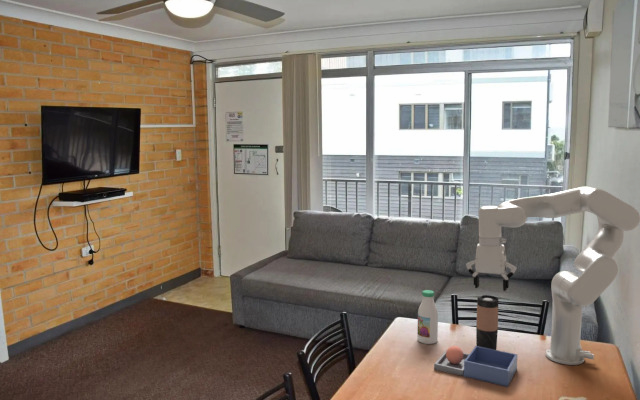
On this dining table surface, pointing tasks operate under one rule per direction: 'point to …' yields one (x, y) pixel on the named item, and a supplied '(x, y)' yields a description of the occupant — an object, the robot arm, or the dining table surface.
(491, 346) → the travel mug
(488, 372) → the blue storage bin
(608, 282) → the robot arm
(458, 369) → the tray
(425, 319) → the milk bottle
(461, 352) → the ball
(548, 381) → the dining table surface
